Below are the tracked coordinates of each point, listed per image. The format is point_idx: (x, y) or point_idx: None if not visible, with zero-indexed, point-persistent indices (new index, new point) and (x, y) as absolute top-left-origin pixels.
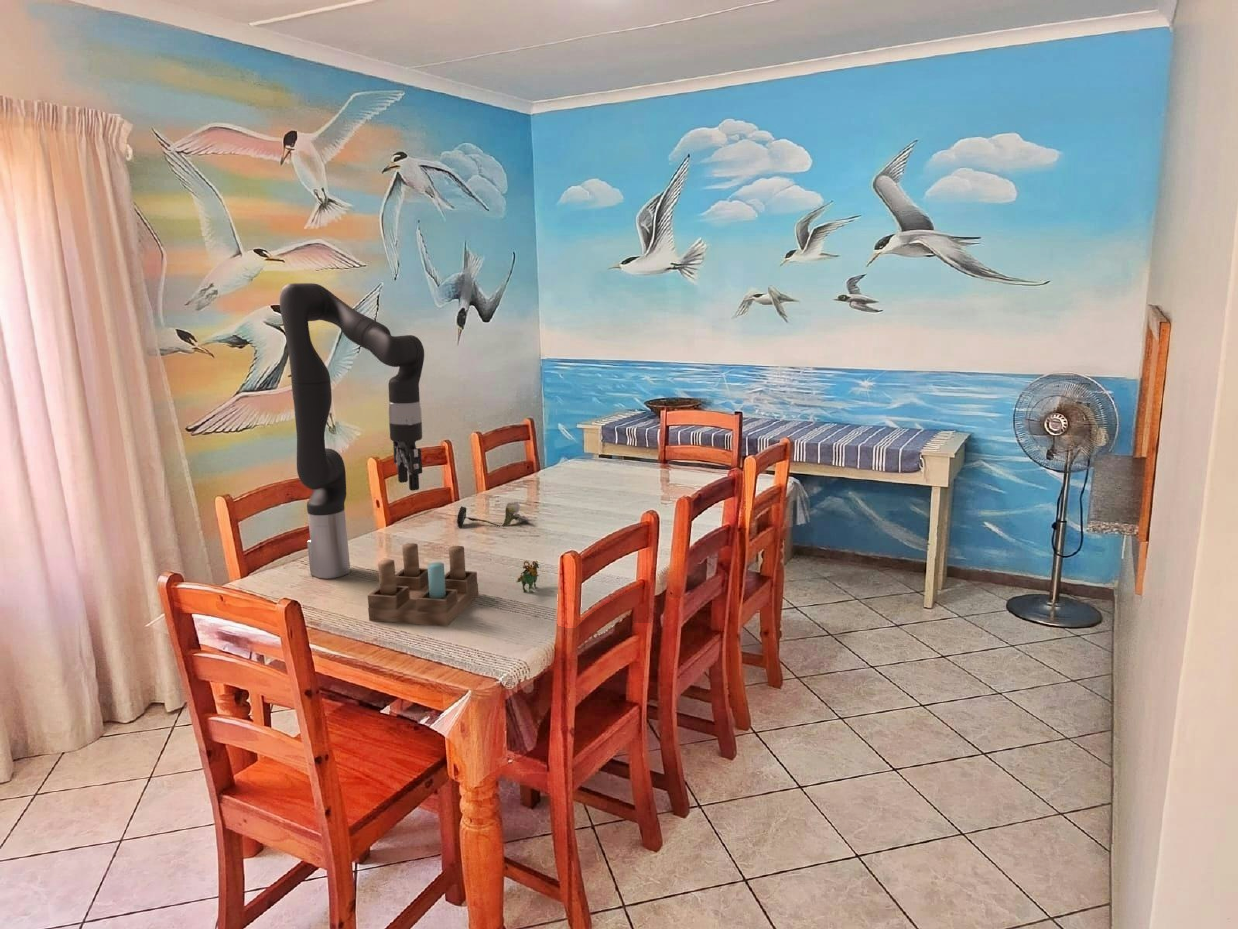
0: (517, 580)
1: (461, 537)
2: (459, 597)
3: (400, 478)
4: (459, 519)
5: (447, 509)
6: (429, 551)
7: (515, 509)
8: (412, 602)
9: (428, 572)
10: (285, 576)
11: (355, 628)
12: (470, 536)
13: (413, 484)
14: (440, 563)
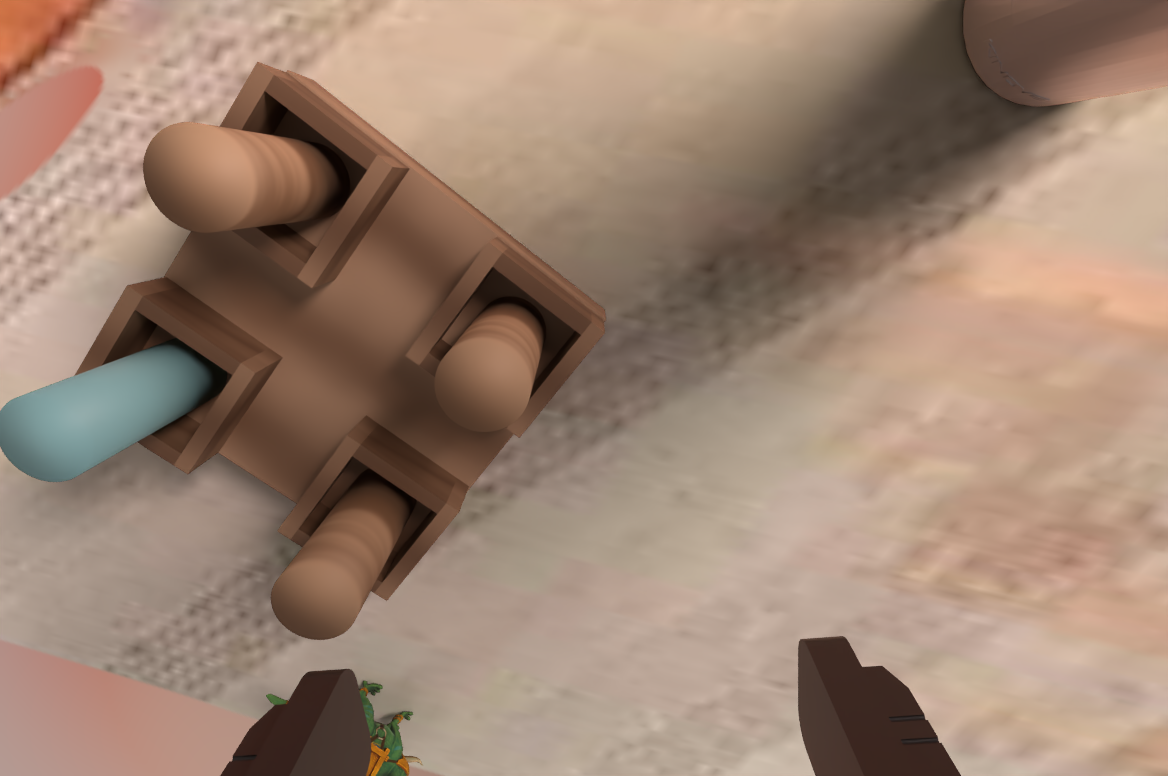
0: (273, 702)
1: (1138, 664)
2: (268, 469)
3: (817, 692)
4: None
5: None
6: (1048, 505)
7: None
8: (281, 279)
9: (55, 384)
10: None
11: (243, 2)
12: (1123, 697)
13: (233, 768)
14: (64, 468)
